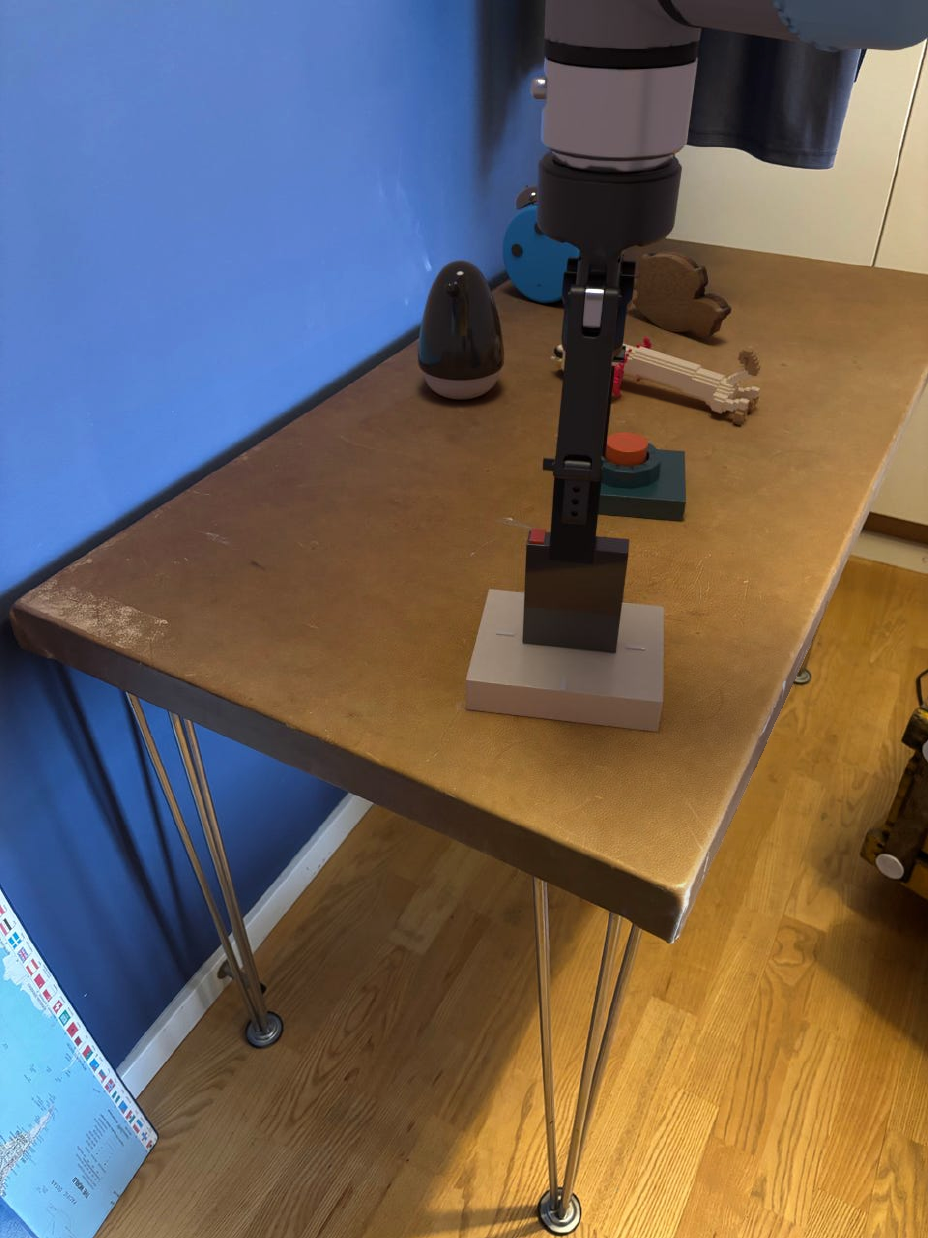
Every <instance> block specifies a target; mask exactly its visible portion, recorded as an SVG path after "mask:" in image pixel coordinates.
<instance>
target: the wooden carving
mask: <svg viewBox="0 0 928 1238" xmlns="http://www.w3.org/2000/svg"><path fill="white" fill-rule="evenodd" d="M637 268H638V273H636V274H635V281H634V290H635V291H636V292H637V294H636V297H635V298H634V299H632V305H634V306H635V308H636V309H637V310H638V311H639V312H640V313H641V314H642V315H643V317H644V318H646V319H647V320H649V321H650V322H651V323H652V324H653V325H655V326H657V327H659V329H660V328H661V329H663V330H665V331H669V332H673V333H682V332H683V333H684V332H688V331H692V332H693V333H694V334H695V335H697V336H698V337H701V338H704V339H709V338H711V337H713V336H714V334H715V333H718V332H720V330H721V328H722V324H723V321H725V320H726V319H727V317H728V316H729V315H730V314H731V313H732V306H731V305H729V303H728V301H727V300H726V299H725V298H724V297H722V296H720V295H718V294H716V293H711V292H709V293H706V287H707V285H708V284H709V276H708V271H707V268H706V266H705V265H701V266H700V265H698V263H696V261H695V260H694V259H692V258H691V257H689V256H688V255H686V254H684V253H681V252H676V251H661V252H658V253H657V252H655V251H651V252H649V253H645V254H642V255H641V258H640V259H639V262H638V265H637ZM634 290H633V291H634ZM705 293H706V294H705Z"/></svg>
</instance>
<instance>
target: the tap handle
mask: <svg viewBox="0 0 928 1238" xmlns="http://www.w3.org/2000/svg"><path fill="white" fill-rule="evenodd" d="M550 532H551V531H547V529H543V528H531V529H529V531H528V534H527V539H526V544H525V564H524V565H525V567H524V587H523V589H524V590H523V592H524V610H523V634H522V643H527V644H536V645H545V646H555V647H564V648H573V649H582V650H592V651H601V652H610V653H616V649H617V641H618V633H619V625H620V617H621V610H622V602H623V601H624V595H625V594H624V592H625V586H626V578H627V569H628V562H629V555H630V539H629V538H623V537H622V538H621V537H611V536H610V537H609V536H599V535H596V540H595V549H594V559H593V564H585V563H575V562H565V561H555V560H549V547H550Z"/></svg>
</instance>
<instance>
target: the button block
mask: <svg viewBox="0 0 928 1238" xmlns="http://www.w3.org/2000/svg"><path fill="white" fill-rule="evenodd" d="M601 459H602V460H604V464H603V473H602V483H601V492H600V502H599V511H598V515H606V516H619V517H627V518H628V517H630V518H642V519H652V520H664V521H676V522H683V521H684V517H685V516H684V515H685V510H686V504H687V495H686V494H687V488H686V487H687V486H686V485H687V484H686V483H687V482H686V452H685V450H675V449H664V448H663V449H662V448H661V449H660V448H657V447H656V446H655V445H654V444H652V443H650V442H648V447H647V455H646V460H645V462H644V463H643V464H640V465H635V466H621V465H616V464H614V463H611V462H608V461H607V460H606V458H605V456H604V455H602V457H601Z"/></svg>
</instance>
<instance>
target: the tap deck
mask: <svg viewBox="0 0 928 1238" xmlns="http://www.w3.org/2000/svg"><path fill="white" fill-rule="evenodd" d="M523 610H524V591H513V590H502V589H495V588H494V589H493V588H489V589H488V592H487V596H486V599H485V604H484V608H483V611H482V614H481V618H480V623H479V626H478V631H477V634H476V639H475V641H474V642H475V643H474V646H473V650H472V653H471V656H470V657H471V658H470V662H469V665H468V669H467V673H466V677H465V709H466V710H471V711H479V712H486V713H487V712H488V713H494V714H503V715H512V716H520V717H528V718H538V719H544V720H545V719H546V720H554V721H561V722H570V723H579V724H588V725H594V726H595V725H596V726H604V727H614V728H620V729H629V730H637V731H646V732H653V733H658V732H659V729H660V722H661V716H662V711H663V707H664V706H663V705H664V675H665V674H664V671H665V670H664V667H665V666H664V664H665V654H664V653H665V606H662V605H655V604H654V605H653V604H643V603H635V602H634V603H633V602H622V610H621V617H620V625H619V633H618V641H617V649H616V653H610V652H601V651H592V650H582V649H573V648H564V647H555V646H545V645H536V644H527V643H522V634H523Z"/></svg>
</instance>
